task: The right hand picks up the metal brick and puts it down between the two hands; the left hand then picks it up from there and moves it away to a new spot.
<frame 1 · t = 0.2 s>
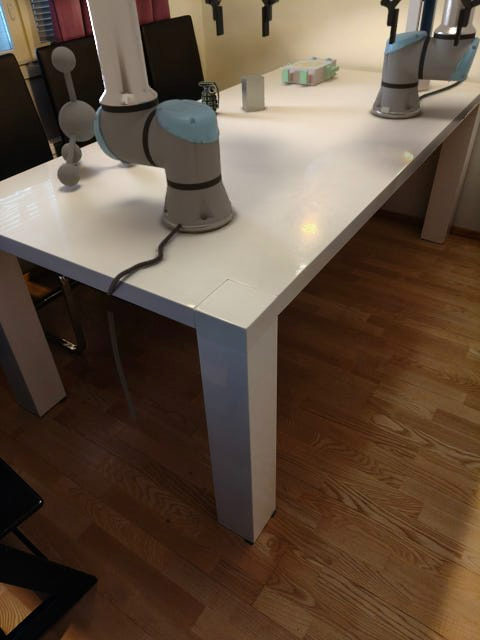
left hand: (242, 35, 129), 28 cm above the table, tool pointing down, fingers open, 13 cm apart
right hand: (423, 44, 107), 28 cm above the table, tool pointing down, fingers open, 13 cm apart
molecular model: (99, 170, 134), on the table
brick: (253, 108, 175), on the table
grenade: (210, 113, 173), on the table
decorative block: (309, 79, 207), on the table
electronic device: (409, 89, 185), on the table
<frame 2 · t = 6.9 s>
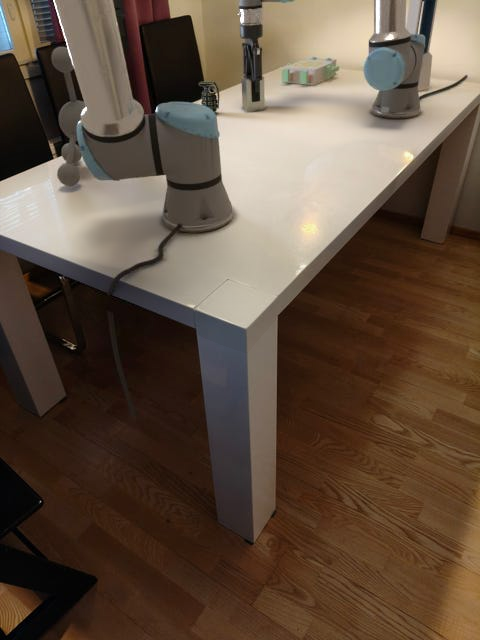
left hand: (120, 48, 115), 29 cm above the table, tool pointing down, fingers open, 13 cm apart
right hand: (253, 99, 173), 3 cm above the table, tool pointing down, fingers closed on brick, 5 cm apart
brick: (253, 108, 175), on the table, touching right hand
everything else where it was.
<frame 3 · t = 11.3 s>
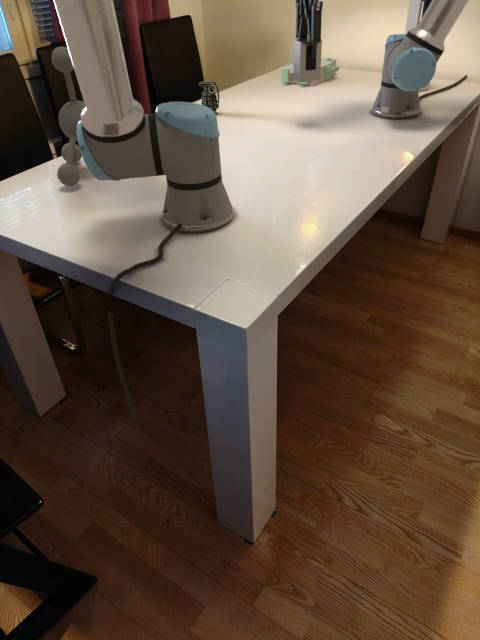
left hand: (120, 48, 115), 29 cm above the table, tool pointing down, fingers open, 13 cm apart
right hand: (307, 67, 145), 17 cm above the table, tool pointing down, fingers closed on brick, 5 cm apart
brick: (306, 79, 147), point 14 cm above the table, touching right hand
everything else where it was.
when the right hand's fingers open (4 cm above the table, at t = 16.0 s): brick drops 1 cm, on the table.
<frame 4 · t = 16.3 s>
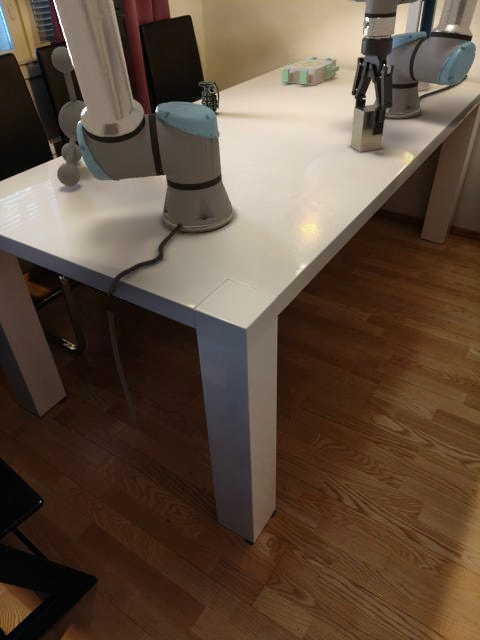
left hand: (120, 48, 115), 29 cm above the table, tool pointing down, fingers open, 13 cm apart
right hand: (367, 129, 134), 5 cm above the table, tool pointing down, fingers open, 9 cm apart
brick: (365, 147, 138), on the table
everything else where it was.
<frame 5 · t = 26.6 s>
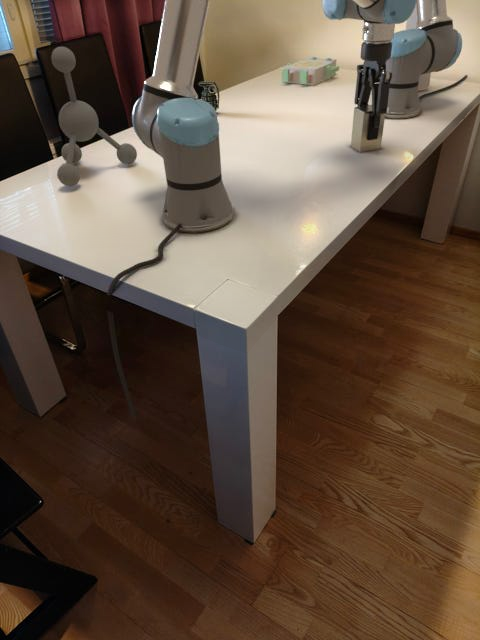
left hand: (366, 136, 136), 3 cm above the table, tool pointing down, fingers closed on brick, 5 cm apart
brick: (365, 147, 138), on the table, touching left hand
everything else where it was.
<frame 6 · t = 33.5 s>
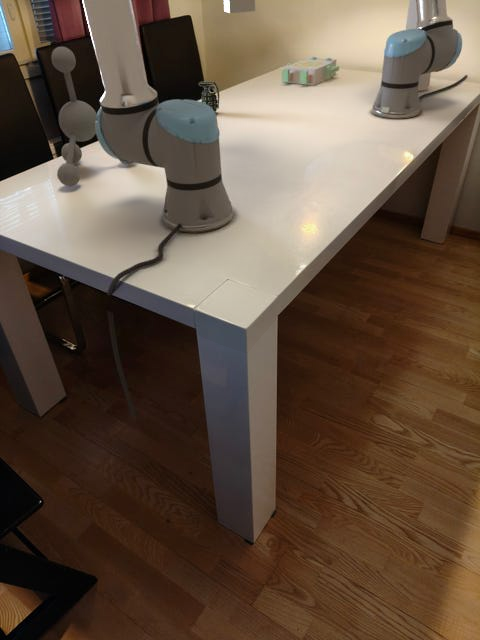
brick: (239, 11, 122), point 34 cm above the table, touching left hand
everything else where it was.
when the left hand's fingers open (4 cm above the table, at t = 40.8 s): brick stays where it is, on the table.
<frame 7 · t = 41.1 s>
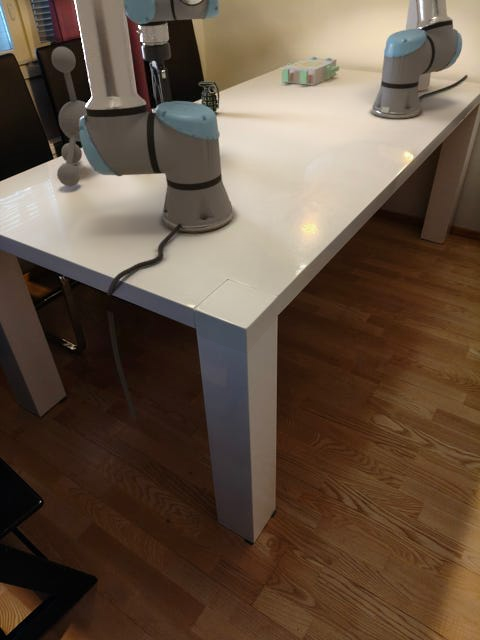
left hand: (167, 129, 144), 5 cm above the table, tool pointing down, fingers open, 9 cm apart
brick: (169, 146, 147), on the table
everything else where it was.
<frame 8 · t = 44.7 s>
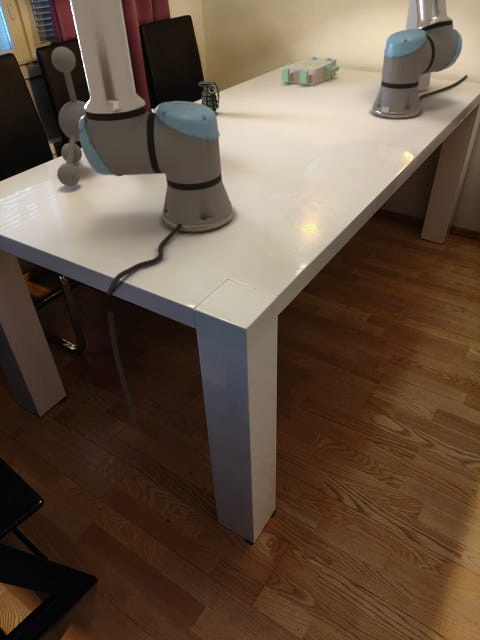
nothing on the table moved.
at the end: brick inside the target area (0.1 cm from its centre), on the table; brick tilted 0°; the two hands never held the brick at the same time; the left hand is holding nothing; the right hand is holding nothing; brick at rest at the end (0.0 cm/s) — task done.
